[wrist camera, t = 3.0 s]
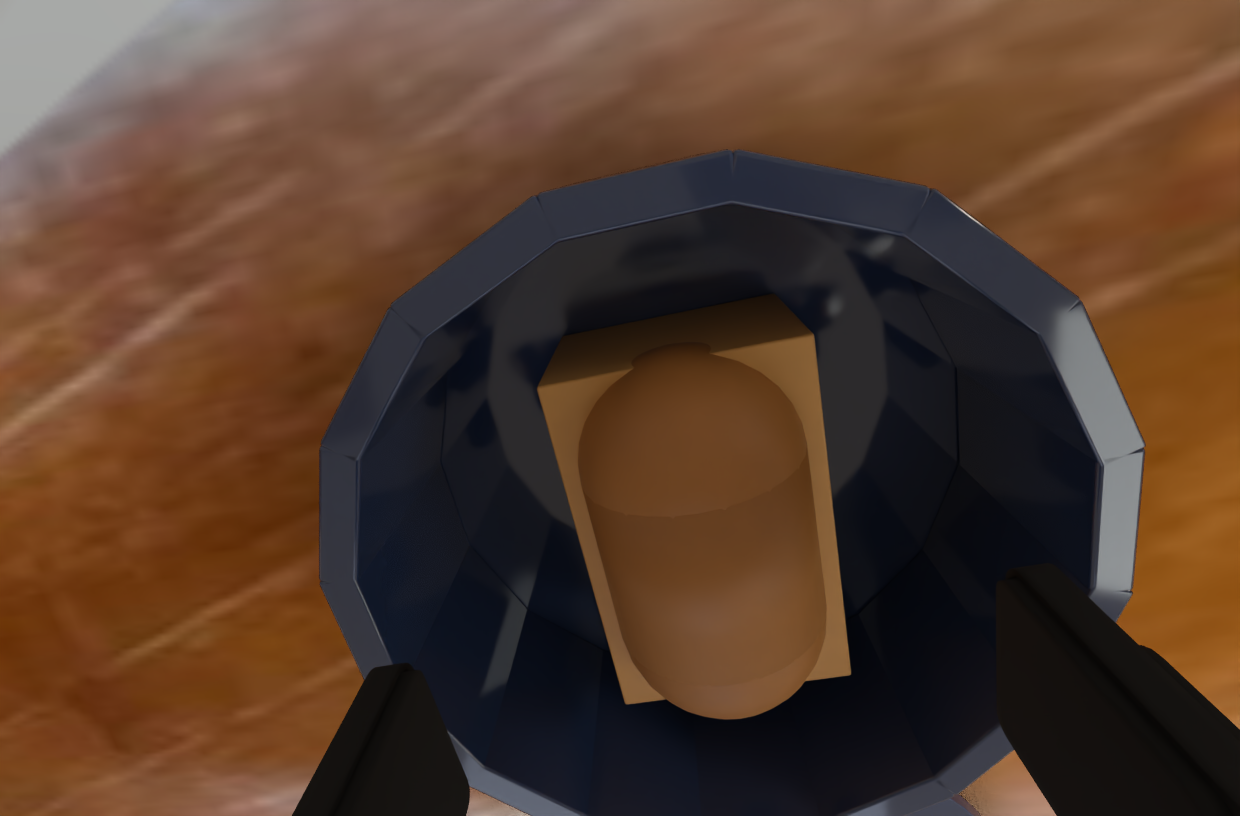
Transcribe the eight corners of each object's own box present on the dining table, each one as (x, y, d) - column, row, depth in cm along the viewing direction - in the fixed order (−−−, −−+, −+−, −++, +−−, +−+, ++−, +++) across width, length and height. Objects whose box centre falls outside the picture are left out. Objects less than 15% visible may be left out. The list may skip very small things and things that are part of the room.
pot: (974, 90, 14) (1185, 42, 9) (982, 631, 20) (1114, 817, 14) (339, 237, 16) (174, 277, 10) (507, 695, 21) (457, 883, 16)
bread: (559, 330, 16) (513, 419, 11) (774, 286, 16) (845, 356, 10) (630, 604, 19) (622, 785, 14) (811, 577, 19) (881, 755, 13)
